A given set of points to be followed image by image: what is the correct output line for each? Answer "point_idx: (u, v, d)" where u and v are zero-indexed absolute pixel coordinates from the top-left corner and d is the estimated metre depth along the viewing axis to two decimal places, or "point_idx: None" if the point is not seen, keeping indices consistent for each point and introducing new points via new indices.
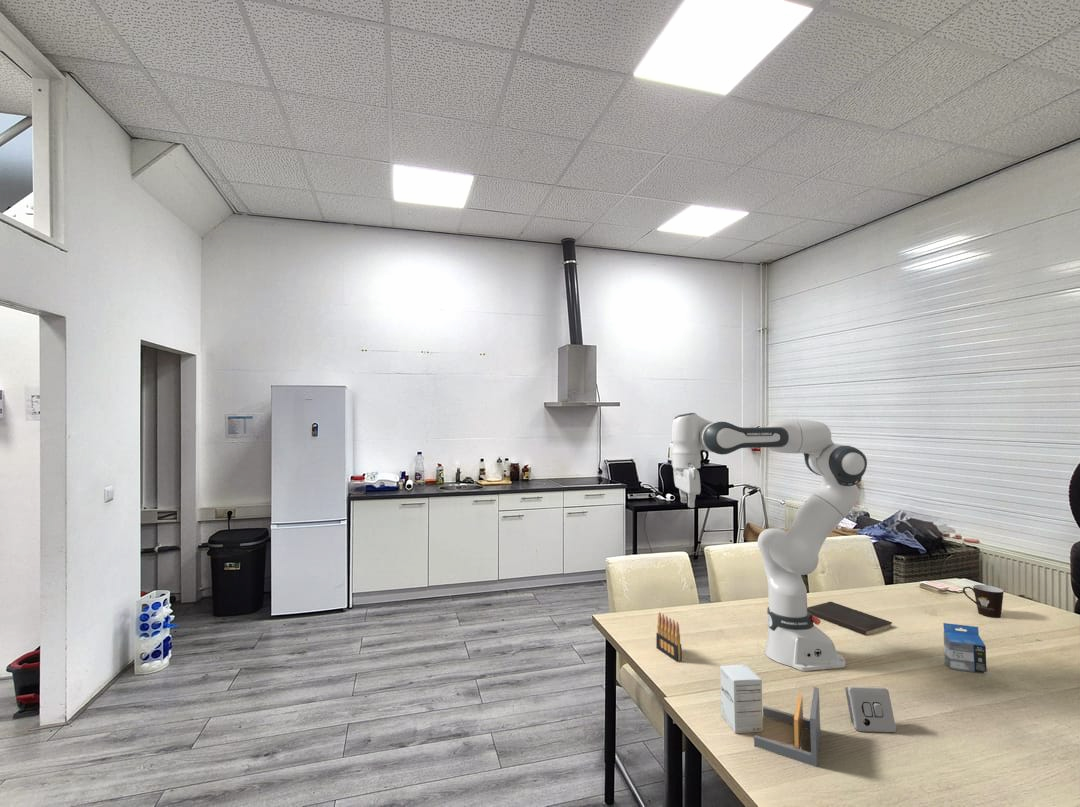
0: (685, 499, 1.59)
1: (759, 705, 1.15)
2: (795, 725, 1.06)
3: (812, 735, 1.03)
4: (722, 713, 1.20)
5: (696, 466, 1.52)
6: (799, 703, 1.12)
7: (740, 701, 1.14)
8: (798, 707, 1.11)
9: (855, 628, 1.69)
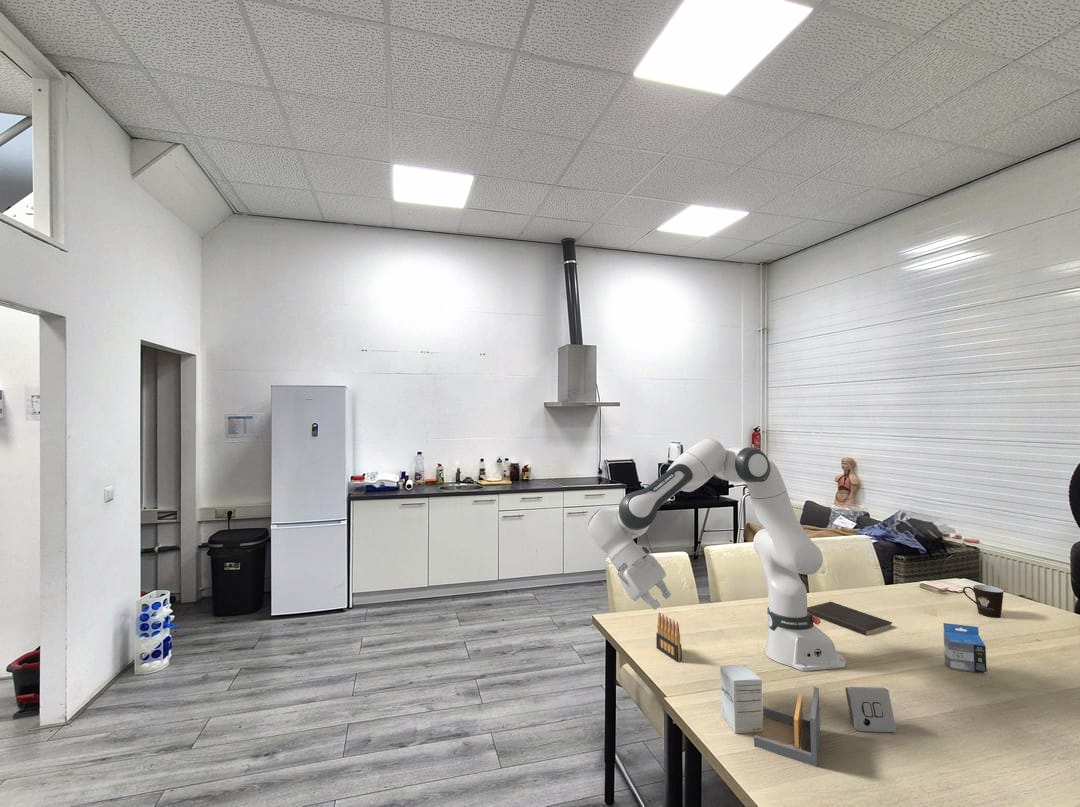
0: (666, 593, 1.33)
1: (759, 705, 1.15)
2: (795, 725, 1.06)
3: (812, 735, 1.03)
4: (722, 713, 1.20)
5: (632, 561, 1.31)
6: (799, 703, 1.12)
7: (740, 701, 1.14)
8: (798, 707, 1.11)
9: (855, 628, 1.69)
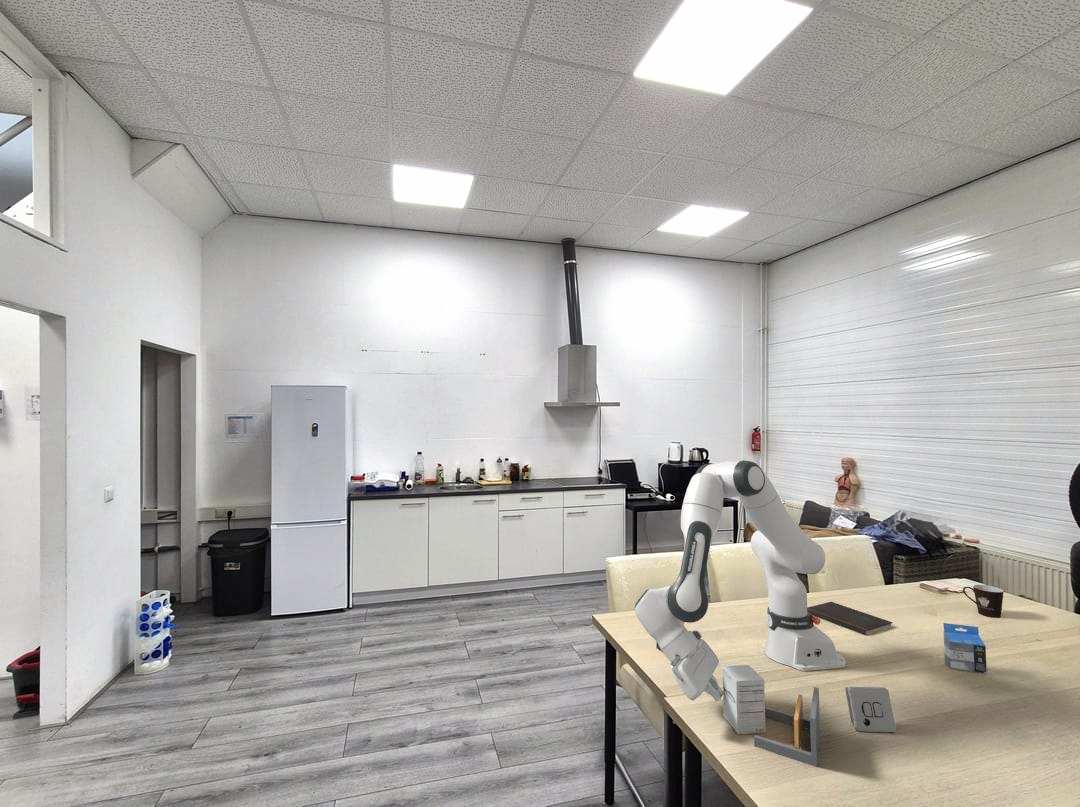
0: None
1: (762, 706, 1.14)
2: (795, 725, 1.06)
3: (812, 735, 1.03)
4: (724, 714, 1.20)
5: (685, 653, 1.22)
6: (799, 703, 1.12)
7: (743, 702, 1.14)
8: (798, 707, 1.11)
9: (855, 628, 1.69)
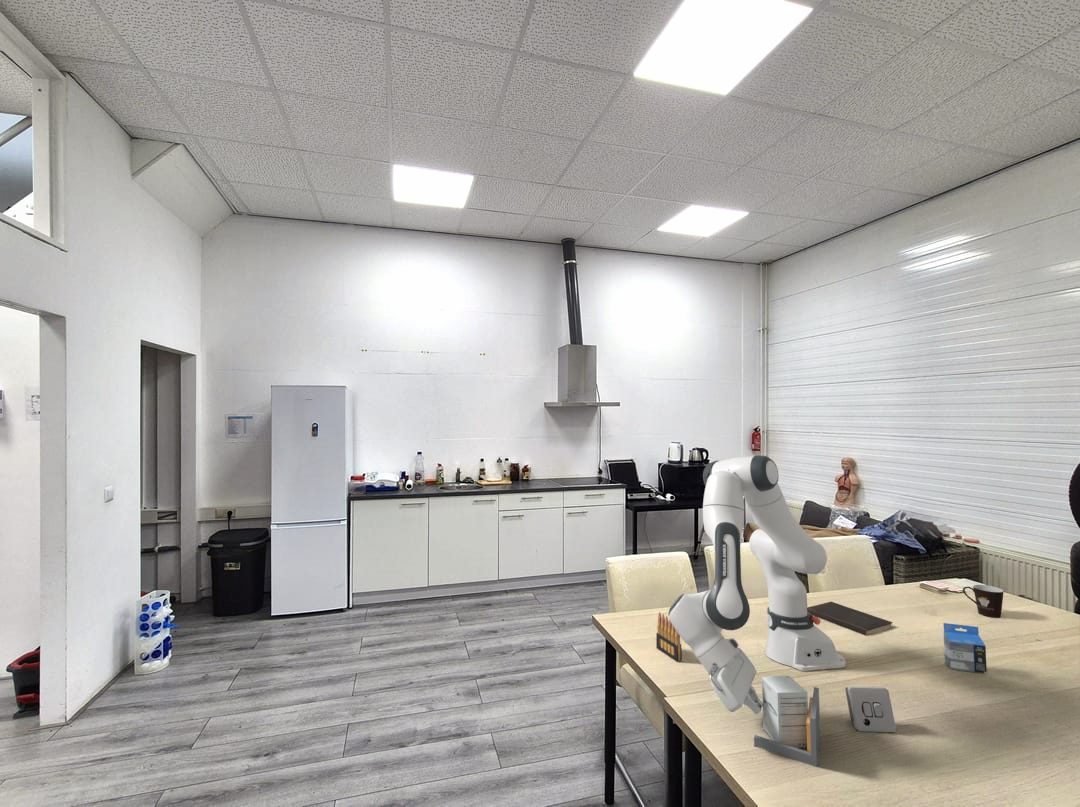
0: None
1: (805, 719, 1.09)
2: (808, 729, 1.05)
3: (812, 735, 1.03)
4: (764, 726, 1.15)
5: (724, 662, 1.17)
6: None
7: (785, 714, 1.09)
8: (810, 710, 1.09)
9: (855, 628, 1.69)
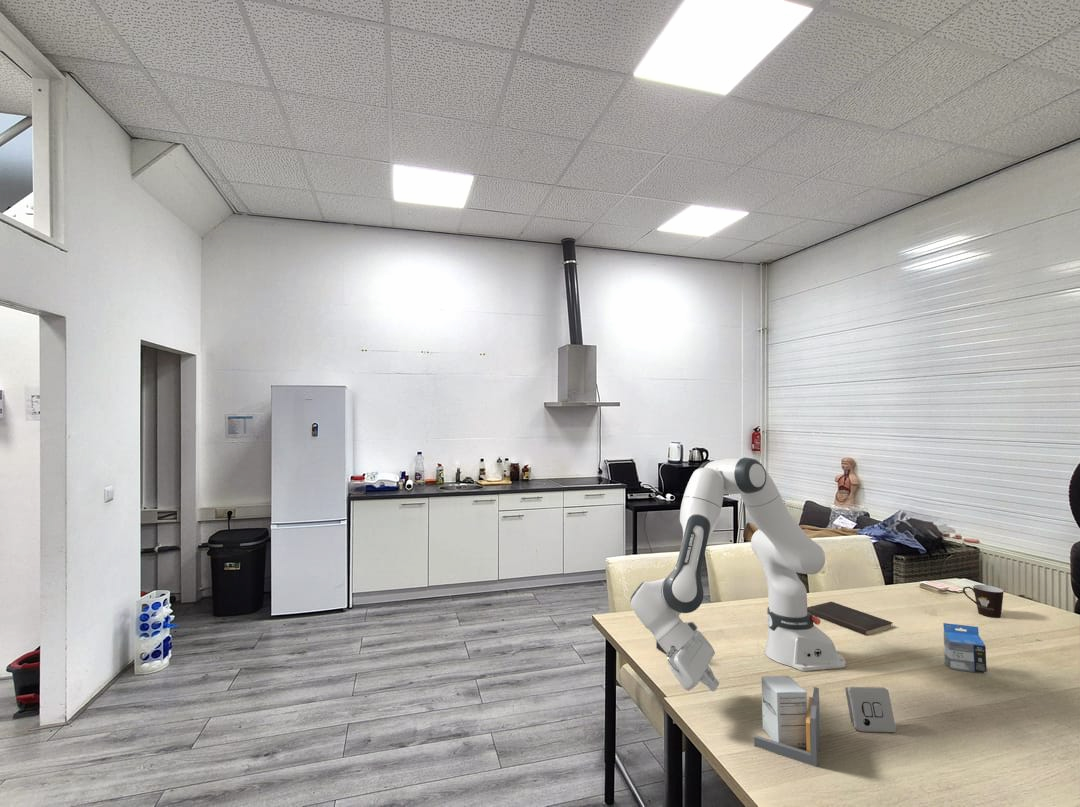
0: None
1: (804, 719, 1.09)
2: (807, 729, 1.05)
3: (812, 735, 1.03)
4: (764, 726, 1.15)
5: (681, 644, 1.23)
6: (810, 706, 1.11)
7: (784, 714, 1.09)
8: (809, 710, 1.10)
9: (855, 628, 1.69)
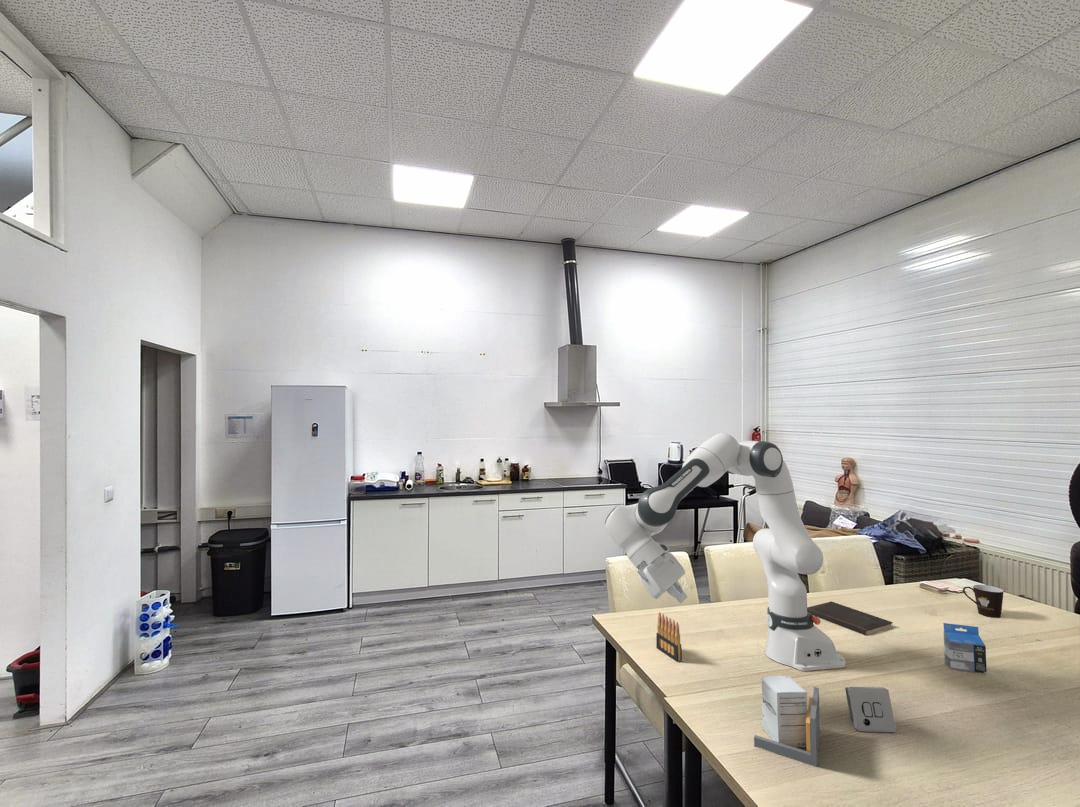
0: None
1: (804, 719, 1.09)
2: (807, 729, 1.05)
3: (812, 735, 1.03)
4: (764, 726, 1.15)
5: (651, 559, 1.28)
6: (810, 706, 1.11)
7: (784, 714, 1.09)
8: (809, 710, 1.10)
9: (855, 628, 1.70)
